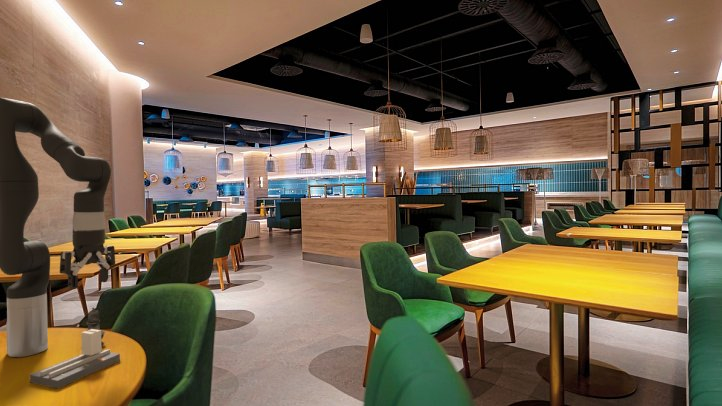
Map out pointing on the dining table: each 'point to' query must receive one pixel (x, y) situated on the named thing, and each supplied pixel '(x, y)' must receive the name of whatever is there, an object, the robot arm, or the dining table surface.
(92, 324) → the dark grey statuette
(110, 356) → the grey ridged rail base
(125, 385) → the dining table surface
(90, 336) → the fader tab
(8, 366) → the dining table surface
